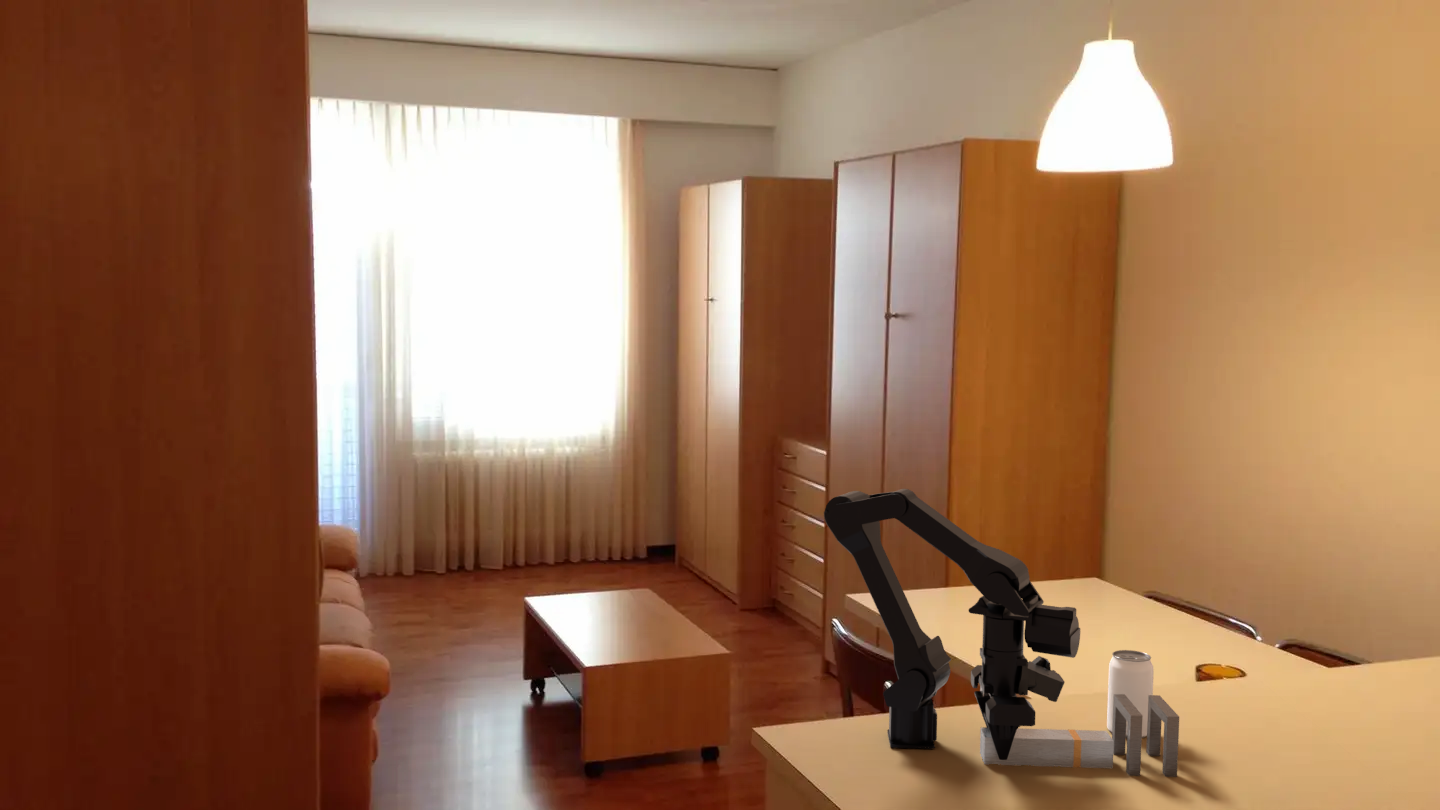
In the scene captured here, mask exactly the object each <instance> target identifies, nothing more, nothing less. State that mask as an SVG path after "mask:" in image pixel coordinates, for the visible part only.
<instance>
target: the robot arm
mask: <svg viewBox="0 0 1440 810" xmlns="http://www.w3.org/2000/svg"><path fill="white" fill-rule="evenodd" d="M823 519H824V522H825V524H826V526H827V527H828V529H829V530H830V532H831V534H832V536H834V538H835V540H836V541H837V542H838V543H839V544H840V545H841V546H842V547H844V549H845V550H847V552H849V554H850V555H851V556H852V557H853V559H854V561H855V563H856V565H857V568H858V570H859V572H860V574H861V576H862V579H863V581H864V583H865V585H866V587H867V590H868V592H869V594H870V596H871V599H872V600H873V602H874V605H875V607H876V609H877V611H878V613H879V615H880V619H881V620H882V622H883V624H884V627H885V628H886V631H887V634H888V635H889V638H890V640H891V642H892V643H891V644H892V648H893V649H892V650H893V666H894V669H895V673H896V676H897V680H896V681H895V682H894V683H892V684H891V685H890V686H889V687H888V688H886V689H885V690H884V691H883V693H882V695H883V698H884V701H885V705H886V706H887V708H889V709H888V712H889V713H888V714H889V716H888V721H889V722H888V725H889V726H888V729H887V730H886V731H887V732H886V733H887V738H888V743H889V747H890V748H896V749H897V748H900V749H931V750H932V749H935V742H936V741H937V737H938V712H937V710H936V708H934V703H933V699H932V698H933V697H935V696H936V695H937V692H938V690H940V689H941V688H942V687H943V686H945V684H947V682H948V680H949V679H950V678H949V677H950V674H951V666H950V663H949V662H951V660H952V658H951V657H950V655H948V654H947V651H945V648H944V644H943V641H942V639H941V637H940V635H936V636H935V637H934V636H933V638H931V637H930V636H929V635H928V634H927V633H925V632H924V630H922V628H921V627H920V625H919V624H920V623H919V621H918V620H917V618H916V616H915V613H914V611H913V609H912V607H911V605H910V603H909V600H908V598H907V596H906V594H905V591H904V590H903V588H902V585H901V583H900V580H899V579H898V576H897V574H896V573H895V571H894V568H893V567H892V564H891V562H890V560H889V557H888V555H887V553H886V551H885V549H884V546H883V544H882V539H881V521H886V520H892V519H896V520H897V521H898V522H900V523H901V524H903V525H904V526H905V527H906V528H908V529H909V530H911V531H912V532H913V533H914V534H916V536H917V535H918V536H919V537H920V538H921V539H922V540H924V541H925V542H927V543H928V544H929V545H931V546H932V547H934V548H935V549H936V550H937V551H938V552H940V553H941V554H942V555H944V556H945V557H947V558H948V559H949V560H951V561H953V562H954V563H955V564H956V565H957V566H958V567H959V568H960V569H961V570H962V571H963V573H964V574H965V576H966V577H967V579H968V580H969V582H970V583H971V584H972V586H973V587H974V588H975V589H976V590H978V592H979V593H980V594H981V595H982V596H980V597H979V598H978V600H977V602H975V603H974V604H973V605H972V606H971V607H969V608H968V613H970V614H974V615H979V616H980V615H981V616H982V618H983V619H982V647H980V648H979V656H980V659H981V664H977V665H976V666H974V667H973V668H972V669H971V670H970V683H971V684H970V685H971V686H972V688H973V689H978V687H979V686H980V688H979V690H977V691H976V690H975V691H974V692H973V693H974V697H975V698H976V702H977V703H978V707H979V710H980V712H981V715H982V718H983V721H984V723H985V727H988V728H989V731H990V734H991V737H992V740H993V743H994V746H995V748H996V751H997V754H998V757H999V759H1000V760H1007V758H1008V755H1009V752H1010V749H1011V746H1012V742H1013V739H1014V736H1015V733H1016V731H1017V729H1018V728H1020V727H1033V726H1036V711H1035V709H1034V706H1033V705H1032V704H1031V702H1030V701H1029V700H1028V699H1027V698H1026V697H1024V696H1029V692H1031V693H1034V694H1036V695H1038V696H1041V697H1044V698H1047V700H1049V701H1051V702H1054V703H1056V702H1058V699H1059V697H1060V694H1061V692H1062V689H1063V687H1064V685H1065V680H1064V678H1063V677H1062V676H1061V674H1059V673H1058V672H1056V670H1054V669H1051V662H1050V661H1049V659H1048V658H1045V657H1043V656H1040V655H1038V656H1037V657H1036V658H1034V659H1033V660H1032V661H1030V660H1028V659H1027V658H1026V657H1025V655H1024V642H1025V644H1026V645H1027V646H1026V647H1027V648H1030V649H1031V651H1032V652H1033V653H1040V654H1046V655H1053V656H1060V657H1066V658H1071V659H1072V658H1073V659H1074V658H1076V656H1077V654H1078V651H1079V646H1080V641H1081V627H1080V625H1079V619H1078V616H1077V608H1076V607H1073V606H1055V605H1047V604H1044V602H1045V601H1044V600H1043V598H1042V596H1041V595H1040V593H1039V592H1038V591H1037V589H1036V587H1035V586H1034V585H1033V583H1032V582H1031V580H1030V574H1029V568H1028V566H1027V565H1026V563H1024V562H1023V561H1022V560H1021V559H1019V558H1017V557H1015V556H1013V555H1012V554H1009V553H1007V552H1006V551H1004V550H1002V549H999V548H997V547H993V546H991V545H986V544H985V543H983V542H981V541H979V540H977V539H975V538H974V537H973V536H972V535H970V534H969V533H967V532H966V531H965V530H963V529H962V528H961V527H960V526H957V525H956V523H954V522H952V521H951V520H949V519H948V518H947V517H946V516H944V515H943V514H941V513H940V512H939V511H937V510H936V509H935V508H934V507H932V506H931V505H929V504H928V503H926V502H925V501H923V500H922V499H921V498H919V497H918V496H917V495H916V493H915V492H914V491H912V490H911V489H908V488H901V489H897V490H895V491H889V492H880V493H874V494H873V493H872V494H869V493H865V492H863V491H861V490H853V491H852V490H851V491H849V492H847V493H844V494H840V495H837V496H834V497H832V498H831V499H830V500H829V501H828V502H827V504H826V506H825V508H824V511H823ZM1018 695H1019V696H1018Z"/></svg>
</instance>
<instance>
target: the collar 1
mask: <svg viewBox="0 0 1440 810" xmlns="http://www.w3.org/2000/svg"><path fill="white" fill-rule="evenodd" d="M1142 717H1143V716H1142V714H1141V713H1140V712H1139V711H1138V710H1137V708H1136V707H1135V706H1134V705H1133V704H1132V703H1131V701H1130V700H1129V699H1128V698H1127V697H1126V695H1125V694H1114V698H1113V726H1112V733H1111V738H1112V739H1113V741H1114V748H1113V756H1114V755H1117V756H1118V755H1119V756H1120V755H1121V756H1123V755H1124V756H1125V755H1126V761H1125V764H1126V765H1125V772H1126V774H1127V776H1136V777H1137V776H1139V777H1140V776H1141V767H1142V766H1141V765H1142V763H1141V762H1142V744H1143V743H1142V742H1143V741H1142V739H1143V738H1142ZM1126 720H1127V721H1128V731H1127V738H1126Z"/></svg>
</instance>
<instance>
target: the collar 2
mask: <svg viewBox="0 0 1440 810" xmlns="http://www.w3.org/2000/svg"><path fill="white" fill-rule="evenodd" d="M1162 722H1163V725H1164V726H1163V744H1162V745H1163V746H1162V767H1161V768H1162V769H1161V771H1162V775H1163V776H1164V777H1166V778H1169V777H1171V778H1177V777H1178V761H1179V759H1178V758H1179V738H1180V736H1179V735H1180V734H1179V733H1180V731H1179V730H1180V716H1179V715H1178V713H1177V712H1176V711H1175V710H1174V709H1173V708H1172V707H1171V706H1170V705H1169V703H1167V702H1166V701H1165V699H1164V698H1162V696H1161V695H1160V694H1159V695H1157V694H1153V695H1148V721H1147V737H1146V751H1145V752H1146V754H1147V755H1148V756H1149V755H1150V756H1152V757H1153V756H1154V757H1157V756H1158V757H1161V741H1162ZM1150 756H1149V757H1150Z"/></svg>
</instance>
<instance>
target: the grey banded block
mask: <svg viewBox="0 0 1440 810" xmlns="http://www.w3.org/2000/svg"><path fill="white" fill-rule="evenodd" d="M979 741H980V743H979V755H980V754H981V755H980V758H981V757H982V758H981V759H983V760H982V762H984V763H983V765H989V764H998V765H997V766H1021V765H1028V767H1029V765H1031V766H1030V767H1053V768H1055V767H1058V766H1060V767H1059V768H1089V769H1090V768H1091V769H1092V768H1093V769H1114V768H1113V767H1114V754H1113V748H1114V741H1113V739H1112V736H1111V735H1110V734H1109V733H1108V731H1107V730H1086V729H1084V730H1083V729H1081V730H1080V729H1052V728H1050V729H1049V728H1048V729H1047V728H1024V727H1023V728H1020V727H1019V728H1018V729H1017V731H1016V733H1015V736H1014V739H1013V742H1012V746H1011V749H1010V752H1009V755H1008V758H1007V760H1000V759H999V757H998V754H997V751H996V748H995V746H994V743H993V740H992V737H991V734H990V731H989V728H988V727H986V726H985V727H984V726H983V727H982V726H981V727H980V738H979ZM1000 764H1001V765H1000ZM1033 765H1034V766H1033ZM1054 766H1055V767H1054Z"/></svg>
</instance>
